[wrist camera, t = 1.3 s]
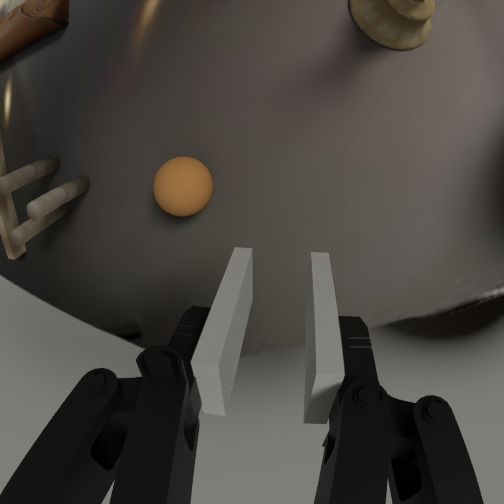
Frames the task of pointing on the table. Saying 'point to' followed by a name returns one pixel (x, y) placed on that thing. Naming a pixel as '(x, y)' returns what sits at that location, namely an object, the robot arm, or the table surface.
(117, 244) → the table surface
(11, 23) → the sunglasses case
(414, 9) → the hand bell
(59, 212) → the pin
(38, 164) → the pin
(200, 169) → the ball
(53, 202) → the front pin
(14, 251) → the grey long bar
